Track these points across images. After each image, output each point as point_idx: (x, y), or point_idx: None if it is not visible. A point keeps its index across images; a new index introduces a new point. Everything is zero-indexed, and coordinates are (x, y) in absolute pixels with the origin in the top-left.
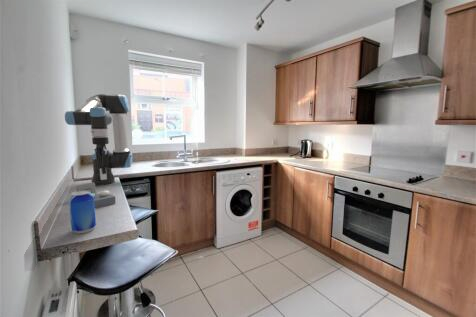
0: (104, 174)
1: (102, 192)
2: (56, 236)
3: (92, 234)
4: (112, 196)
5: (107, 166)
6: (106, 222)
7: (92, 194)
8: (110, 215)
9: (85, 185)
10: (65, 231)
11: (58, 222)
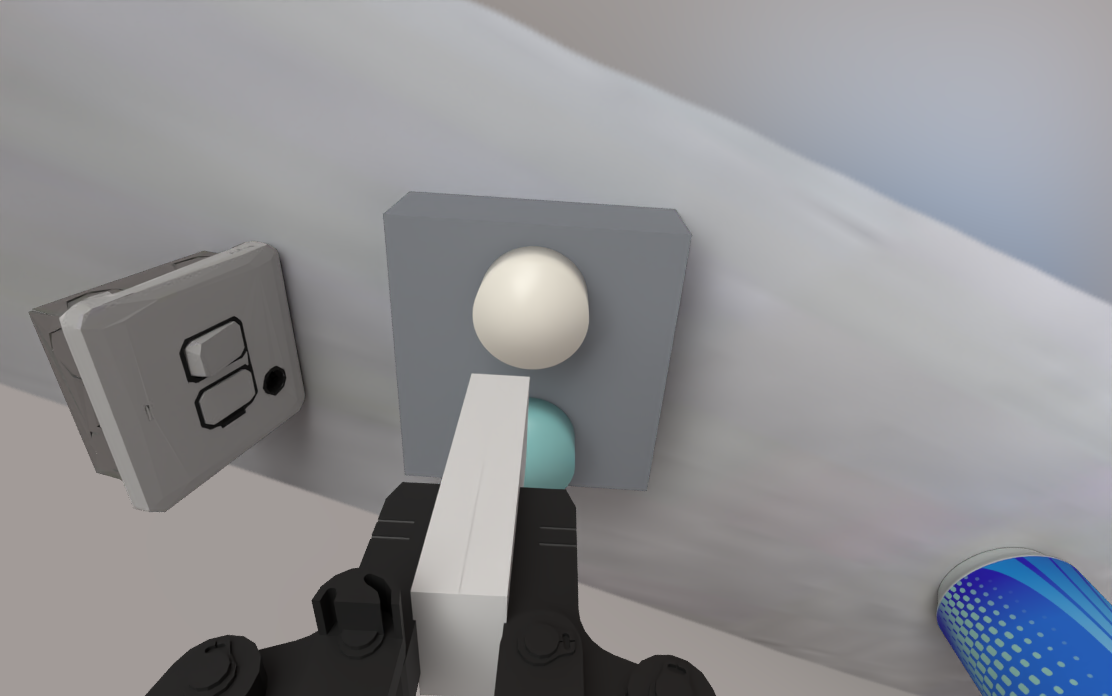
0: (520, 482)
1: (556, 353)
2: (917, 670)
3: (1109, 586)
4: (665, 257)
5: (706, 687)
6: (1045, 476)
7: (547, 453)
8: (950, 401)
9: (144, 421)
10: (900, 636)
11: (714, 618)
